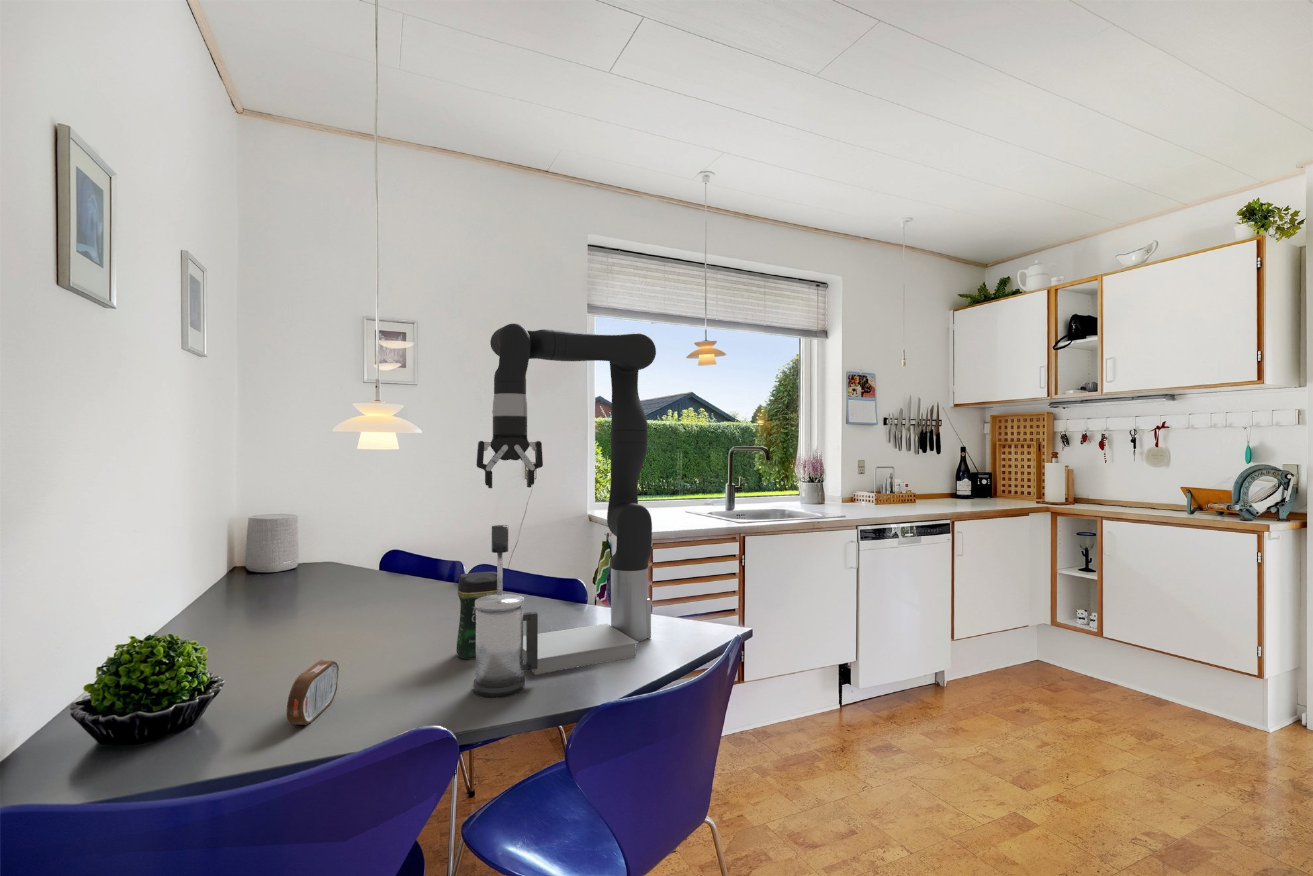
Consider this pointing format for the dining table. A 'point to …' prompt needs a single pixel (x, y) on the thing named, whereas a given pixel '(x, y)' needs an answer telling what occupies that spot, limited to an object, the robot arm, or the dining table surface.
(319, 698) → the tin
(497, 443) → the robot arm
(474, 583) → the coffee jar
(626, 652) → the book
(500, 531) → the plunger
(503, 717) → the dining table surface
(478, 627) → the carafe
